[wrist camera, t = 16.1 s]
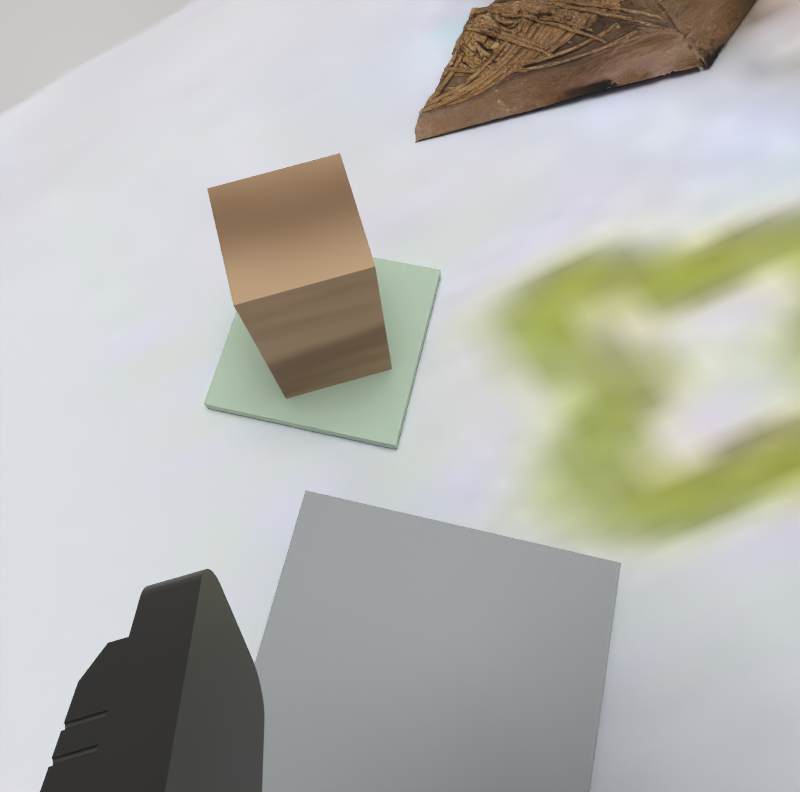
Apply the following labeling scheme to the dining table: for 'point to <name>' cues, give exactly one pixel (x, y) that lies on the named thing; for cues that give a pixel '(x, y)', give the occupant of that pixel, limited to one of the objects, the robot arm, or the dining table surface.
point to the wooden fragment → (569, 53)
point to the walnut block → (303, 274)
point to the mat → (347, 402)
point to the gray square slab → (431, 657)
